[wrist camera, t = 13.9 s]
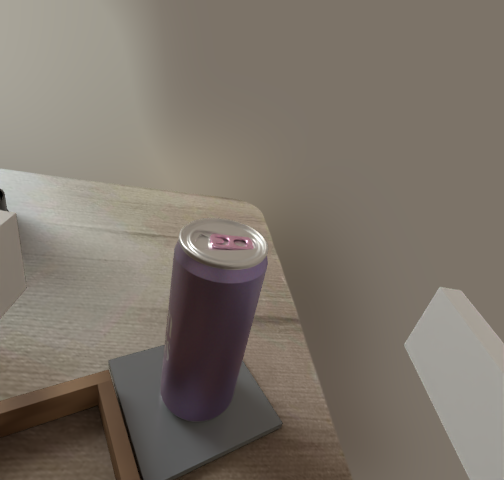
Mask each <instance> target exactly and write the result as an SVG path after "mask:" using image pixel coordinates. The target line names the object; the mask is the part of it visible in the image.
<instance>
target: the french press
mask: <svg viewBox="0 0 504 480" xmlns="http://www.w3.org/2000/svg"><path fill="white" fill-rule="evenodd" d="M0 210H2V211H8V210H7V206H6V200H5V194H4V192H3V190H1V189H0ZM8 212H9V211H8Z"/></svg>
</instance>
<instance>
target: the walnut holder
mask: <svg viewBox="0 0 504 480" xmlns="http://www.w3.org/2000/svg"><path fill="white" fill-rule="evenodd" d="M97 405H98V407H99V411H100V415H101V419H102V423H103V428H104V432H105V436H106V440H107V444H108V449H109V453H110V457H111V461H112V465H113V469H114V474H115V478H116V480H140V477H139V473H138V470H137V466H136V463H135V459H134V456H133V453H132V449H131V446H130V442H129V439H128V435H127V432H126V428H125V425H124V421H123V418H122V414H121V411H120V407H119V404H118V400H117V397H116V393H115V390H114V386H113V383H112V379H111V376H110V373H109V370H106V371H102V372H99V373H95V374H92V375H88V376H85V377H81V378H78V379H75V380H71V381H68V382H64V383H61V384H57V385H54V386H50V387H47V388H43V389H40V390H36V391H33V392H29V393H26V394H22V395H19V396H16V397H12V398H9V399H5V400H2V401H0V438H1V437H4V436H7V435H10V434H13V433H16V432H19V431H22V430H25V429H28V428H31V427H34V426H37V425H40V424H43V423H46V422H49V421H52V420H55V419H58V418H61V417H64V416H67V415H70V414H73V413H76V412H79V411H82V410H85V409H88V408H91V407H94V406H97Z"/></svg>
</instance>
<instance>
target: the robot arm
mask: <svg viewBox="0 0 504 480" xmlns="http://www.w3.org/2000/svg"><path fill="white" fill-rule="evenodd" d="M26 288H27V287H26V280H25V273H24V266H23V259H22V252H21V245H20V238H19V231H18V224H17V217H16V213H14V212H8V211H2V210H0V319H1V317H2V316H3V315H4V314H5V313H6V312H7V310H8V309H9V308H10V307H11V306H12V304H13V303H14V302H15V301H16V300H17V299H18V297H19V296H20V295H21V294H22V293H23V291H24V290H25V289H26ZM404 346H405V348H406V350H407V352H408V354H409V356H410V358H411V360H412V362H413V364H414V367H415V369H416V371H417V373H418V375H419V377H420V379H421V381H422V383H423V385H424V387H425V389H426V391H427V393H428V395H429V397H430V399H431V401H432V403H433V405H434V408H435V410H436V412H437V414H438V416H439V418H440V420H441V422H442V424H443V426H444V428H445V430H446V432H447V434H448V436H449V438H450V440H451V442H452V444H453V446H454V449H455V451H456V453H457V455H458V457H459V459H460V461H461V463H462V465H463V467H464V469H465V471H466V473H467V475H468V477H469V479H470V480H504V343H503V342H502V341H501V339H499V337H498V336H497V334H496V333H495V332H494V331H493V330H492V328H491V327H490V326H489V324H488V323H487V322H486V321H485V320H484V318H483V317H482V316H481V315H480V313H479V312H478V311H477V310H476V308H475V307H474V306H473V305H472V303H471V302H470V301H469V300H468V298H467V297H466V296H465V295H464V293H463V292H462V291H461V290H455V289H450V288H444V287H439V289H438V291H437V292H436V294H435V295H434V297H433V299H432V300H431V302H430V304H429V305H428V307H427V308H426V310H425V312H424V313H423V315H422V317H421V318H420V320H419V321H418V323H417V325H416V326H415V328H414V330H413V331H412V333H411V335H410V336H409V338H408V339H407V341H406V342H405V344H404Z"/></svg>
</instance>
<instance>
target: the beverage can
mask: <svg viewBox="0 0 504 480" xmlns="http://www.w3.org/2000/svg"><path fill="white" fill-rule="evenodd" d="M267 253H268V244H267V241H266V239H265V238H264V237H263V236H262V235H261V234H260V233H259V232H258V231H257V230H255V229H254V228H252V227H250V226H248V225H246V224H243V223H241V222H238V221H234V220H230V219H223V218H203V219H198V220H194V221H192V222H190V223H188V224H186V225H185V226H184V227H183V228H182V229H181V231H180V233H179V240H178V242H177V244H176V246H175V249H174V258H173V268H172V278H171V288H170V298H169V307H168V317H167V327H166V337H165V347H164V357H163V366H162V376H161V386H160V392H161V397H162V400H163V402H164V404H165V405H166V407H167V408H168V409H169V410H170V411H171V412H172V413H173V414H175V415H176V416H178V417H179V418H181V419H184V420H187V421H192V422H202V421H207V420H210V419H212V418H215V417H217V416H218V415H220V414H221V413H223V412H224V411H225V410H226V409H227V407H228V406H229V404H230V403H231V401H232V398H233V394H234V390H235V387H236V383H237V379H238V375H239V371H240V368H241V364H242V360H243V356H244V352H245V348H246V345H247V341H248V337H249V333H250V329H251V326H252V322H253V318H254V314H255V310H256V307H257V303H258V299H259V295H260V291H261V288H262V284H263V280H264V276H265V272H266V269H267V264H268V261H267Z"/></svg>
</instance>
